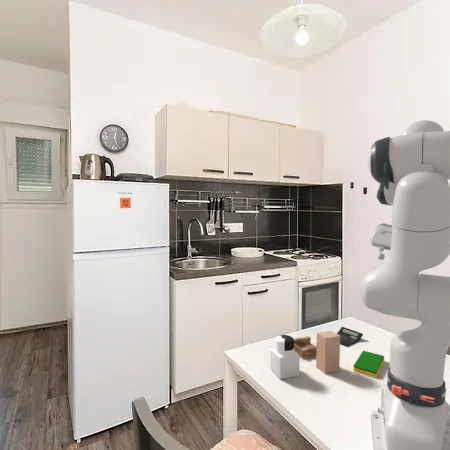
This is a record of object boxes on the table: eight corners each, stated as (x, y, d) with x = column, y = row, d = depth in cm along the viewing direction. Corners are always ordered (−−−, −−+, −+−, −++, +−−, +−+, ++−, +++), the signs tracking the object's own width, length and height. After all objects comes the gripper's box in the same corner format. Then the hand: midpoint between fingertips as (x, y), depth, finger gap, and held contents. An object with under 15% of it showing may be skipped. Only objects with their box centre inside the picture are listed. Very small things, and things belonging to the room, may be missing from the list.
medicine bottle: (288, 365, 106) (289, 331, 105) (299, 376, 99) (300, 340, 99) (270, 368, 104) (270, 334, 103) (280, 379, 97) (280, 343, 96)
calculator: (326, 339, 128) (326, 332, 127) (342, 332, 135) (342, 326, 134) (347, 347, 120) (347, 340, 120) (362, 340, 127) (363, 333, 127)
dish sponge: (384, 362, 109) (384, 355, 109) (376, 379, 98) (376, 372, 98) (363, 356, 113) (363, 350, 113) (352, 372, 102) (353, 365, 102)
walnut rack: (306, 342, 124) (307, 335, 124) (325, 354, 114) (325, 347, 114) (285, 346, 121) (286, 339, 120) (302, 359, 110) (302, 351, 110)
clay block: (330, 364, 107) (330, 330, 106) (339, 370, 103) (340, 335, 102) (316, 367, 105) (316, 333, 104) (324, 373, 101) (325, 338, 100)
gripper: (376, 218, 112) (362, 250, 109) (442, 231, 98) (428, 269, 95) (379, 226, 116) (365, 257, 113) (443, 240, 102) (429, 276, 99)
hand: (394, 263), depth 104 cm, fingers open, 8 cm apart
